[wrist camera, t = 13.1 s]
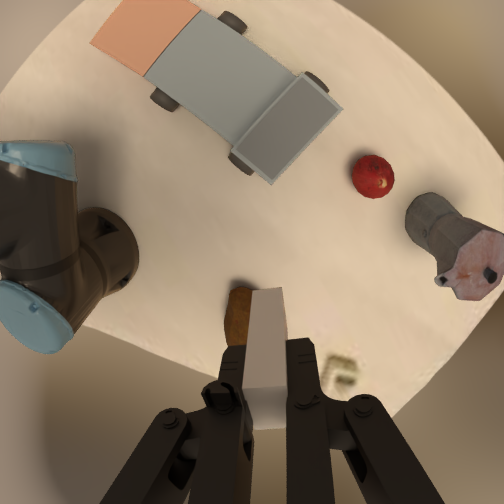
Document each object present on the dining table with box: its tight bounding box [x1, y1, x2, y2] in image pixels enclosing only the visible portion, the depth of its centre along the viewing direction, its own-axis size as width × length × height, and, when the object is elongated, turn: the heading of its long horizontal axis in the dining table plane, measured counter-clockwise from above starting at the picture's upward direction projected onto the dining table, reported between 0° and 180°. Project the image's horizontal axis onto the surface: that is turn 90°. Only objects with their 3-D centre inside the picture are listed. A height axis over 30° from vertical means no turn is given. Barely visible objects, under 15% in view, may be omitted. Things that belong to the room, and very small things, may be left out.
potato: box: [224, 287, 253, 346], centre depth 47 cm, size 8×12×9 cm
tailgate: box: [90, 0, 201, 77], centre depth 30 cm, size 2×12×10 cm
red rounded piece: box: [352, 155, 395, 199], centre depth 37 cm, size 6×6×8 cm
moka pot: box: [405, 193, 504, 301], centre depth 33 cm, size 10×15×20 cm, turn 113°
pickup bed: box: [144, 10, 343, 185], centre depth 33 cm, size 22×16×10 cm
